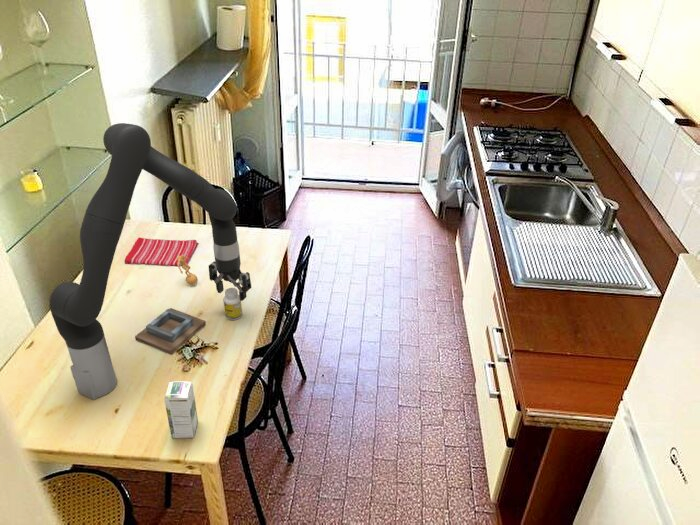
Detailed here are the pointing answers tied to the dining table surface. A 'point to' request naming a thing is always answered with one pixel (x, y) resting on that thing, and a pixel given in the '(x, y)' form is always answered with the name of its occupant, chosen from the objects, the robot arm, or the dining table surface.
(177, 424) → the syrup box
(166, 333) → the cradle board
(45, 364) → the dining table surface
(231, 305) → the supplement bottle
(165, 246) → the dish towel
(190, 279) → the figurine
